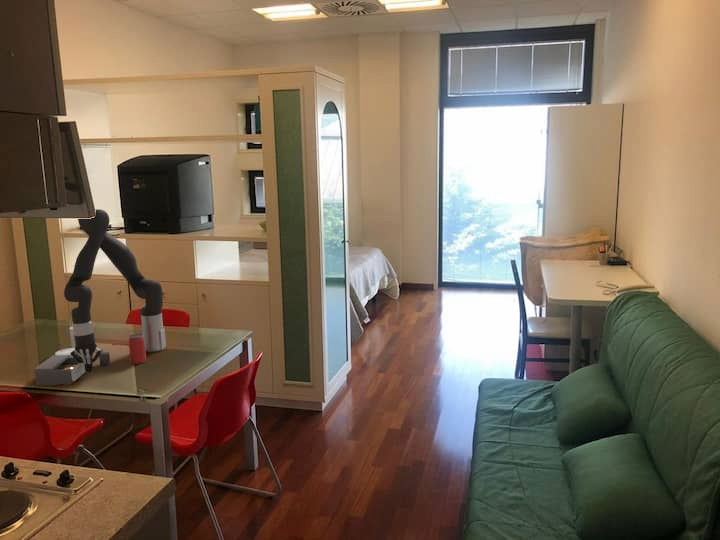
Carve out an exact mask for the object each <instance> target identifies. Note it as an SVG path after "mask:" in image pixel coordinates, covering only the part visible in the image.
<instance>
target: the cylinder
mask: <svg viewBox="0 0 720 540" xmlns="http://www.w3.org/2000/svg"><path fill="white" fill-rule="evenodd" d="M98 362H99V366H100V367H107V366H110V365H111V357H110V352H109V351H102V353H101V354H100V356H99V357H98Z"/></svg>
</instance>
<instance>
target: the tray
mask: <svg viewBox="0 0 720 540" xmlns="http://www.w3.org/2000/svg"><path fill="white" fill-rule="evenodd" d="M62 366H66V365H59V366H58V367H56V368H55V369H54V370H58V369H59V368H60V367H62ZM73 366H74V368H73V369H72V370H71V377H72V381H75V380H76V381H77V380H78V379H80V378H81V377H82V376H83V375H84V374H85V373H87V371H85V366H84V364H83V363H79V364H78V365H73ZM84 372H85V373H84ZM83 373H84V374H83ZM82 374H83V375H82ZM76 381H75V382H76Z"/></svg>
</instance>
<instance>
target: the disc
mask: <svg viewBox="0 0 720 540" xmlns="http://www.w3.org/2000/svg"><path fill="white" fill-rule="evenodd" d="M73 368H74V366H73V365H66V366H62V367H60V368H59V369H58V370H66V369H71V370H72V369H73Z"/></svg>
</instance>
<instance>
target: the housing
mask: <svg viewBox="0 0 720 540" xmlns="http://www.w3.org/2000/svg"><path fill="white" fill-rule="evenodd" d="M78 364H79V362H78V361H77V360H76V359H75V358H74V357H70V355H55V354H54V355H51V356H50V357H48V358H47V359H46V360H45V361H43V362H42V363H40V364H39V365H38V366H36V367H35V368H34V369H33V370H34V376H35V378H34V379H35V384H36V386H57V385H58V386H59V384H64V385H73V384H74V383H75V382H76V381H77V380H75V381H72V377H71V369H66V370H54V369H55V368H56V367H58V366H59V365H78ZM85 373H86V372H84V373H83V374H82V375H81V376H83V375H84V374H85Z"/></svg>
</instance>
